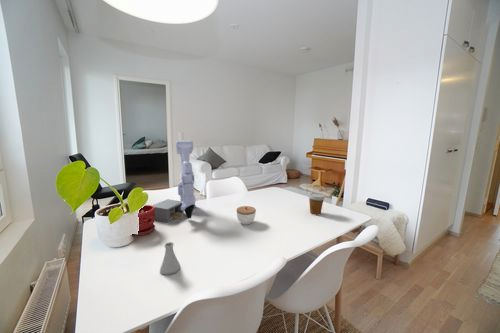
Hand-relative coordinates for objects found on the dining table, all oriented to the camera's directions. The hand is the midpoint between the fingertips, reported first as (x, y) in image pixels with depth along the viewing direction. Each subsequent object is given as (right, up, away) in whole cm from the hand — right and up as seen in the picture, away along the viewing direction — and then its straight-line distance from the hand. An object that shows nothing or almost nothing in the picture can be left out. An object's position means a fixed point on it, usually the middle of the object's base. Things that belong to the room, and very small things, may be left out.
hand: (189, 217), depth 127 cm
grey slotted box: (-14, 0, +6) cm, 15 cm away
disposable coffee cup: (+76, -1, +14) cm, 77 cm away
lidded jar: (+33, -2, -2) cm, 33 cm away
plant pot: (-20, -4, -14) cm, 25 cm away
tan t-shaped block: (-10, 0, +5) cm, 11 cm away
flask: (+5, -9, -44) cm, 45 cm away
